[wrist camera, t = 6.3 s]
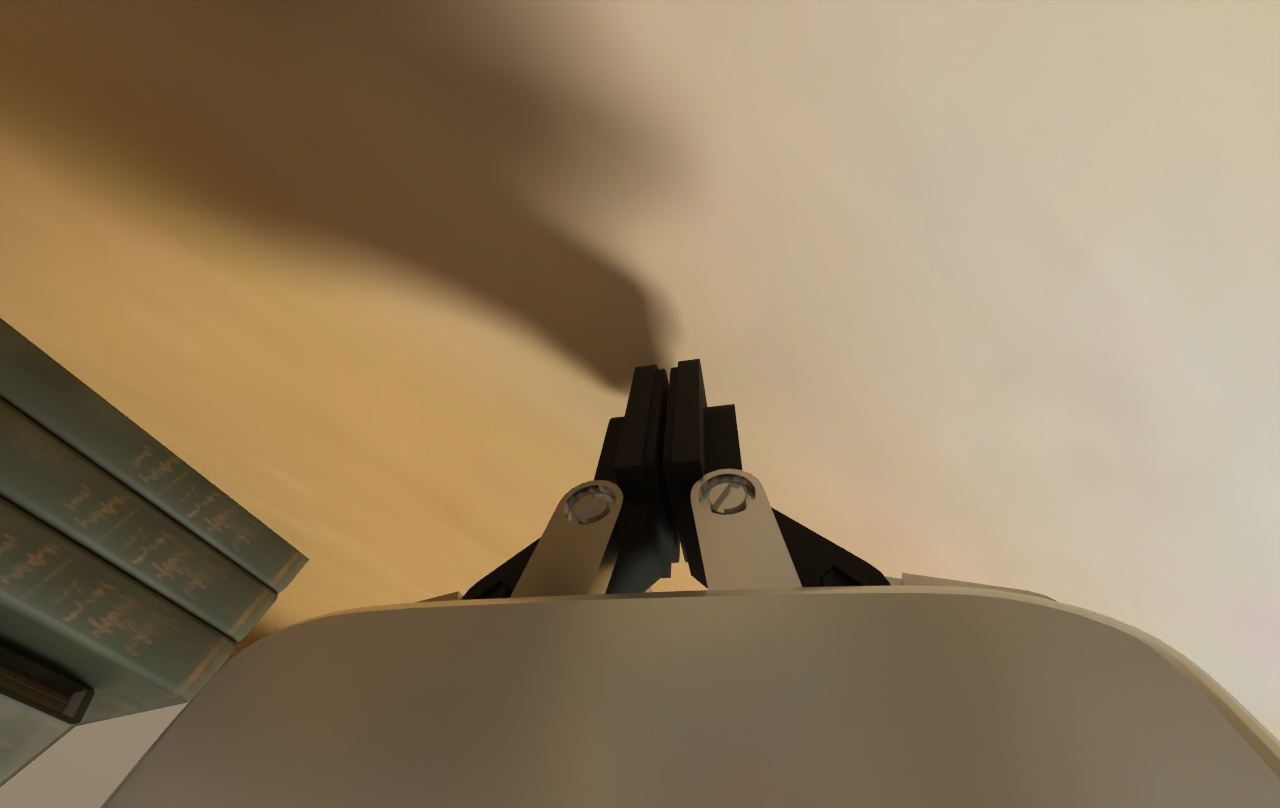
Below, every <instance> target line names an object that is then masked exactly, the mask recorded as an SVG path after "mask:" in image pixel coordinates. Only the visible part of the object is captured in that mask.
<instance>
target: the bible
mask: <svg viewBox="0 0 1280 808" xmlns="http://www.w3.org/2000/svg"><path fill="white" fill-rule="evenodd" d="M308 560H309V559H308V558H307V557H306V556H304V555H303V554H302V553H301V552H299V551H298V550H297V549H296V548H294V547H293V546H292V545H290V544H289V543H288V542H287V541H285V540H284V539H283V538H281V537H280V536H279V535H278V534H276V533H275V532H274V531H272V530H271V529H270V528H269V527H267V526H266V525H265V524H264V523H262V522H261V521H260V520H258V519H257V518H256V517H255V516H253V515H252V514H251V513H249V512H248V511H247V510H246V509H244V508H243V507H242V506H240V505H239V504H238V503H237V502H235V501H234V500H233V499H231V498H230V497H229V496H228V495H226V494H225V493H224V492H223V491H221V490H220V489H219V488H217V487H216V486H215V485H214V484H212V483H211V482H210V481H208V480H207V479H206V478H205V477H203V476H202V475H201V474H199V473H198V472H197V471H196V470H194V469H193V468H192V467H191V466H189V465H188V464H187V463H185V462H184V461H183V460H182V459H180V458H179V457H178V456H176V455H175V454H174V453H173V452H171V451H170V450H169V449H167V448H166V447H165V446H164V445H162V444H161V443H160V442H158V441H157V440H156V439H155V438H153V437H152V436H151V435H150V434H148V433H147V432H146V431H144V430H143V429H142V428H141V427H139V426H138V425H137V424H135V423H134V422H133V421H132V420H130V419H129V418H128V417H126V416H125V415H124V414H123V413H121V412H120V411H119V410H118V409H116V408H115V407H114V406H112V405H111V404H110V403H109V402H107V401H106V400H105V399H103V398H102V397H101V396H100V395H98V394H97V393H96V392H94V391H93V390H92V389H91V388H89V387H88V386H87V385H86V384H84V383H83V382H82V381H80V380H79V379H78V378H77V377H75V376H74V375H73V374H71V373H70V372H69V371H68V370H66V369H65V368H64V367H62V366H61V365H60V364H59V363H57V362H56V361H55V360H53V359H52V358H51V357H50V356H48V355H47V354H46V353H45V352H43V351H42V350H41V349H39V348H38V347H37V346H36V345H34V344H33V343H32V342H30V341H29V340H28V339H27V338H25V337H24V336H23V335H21V334H20V333H19V332H18V331H16V330H15V329H14V328H13V327H11V326H10V325H9V324H7V323H6V322H5V321H4V320H2V319H1V318H0V787H1V786H2V785H4V784H5V783H6V782H7V781H9V780H10V779H11V778H12V777H13V776H15V775H16V774H17V773H18V772H20V771H21V770H22V769H23V768H25V767H26V766H27V765H28V764H29V763H31V762H32V761H33V760H34V759H36V758H37V757H38V756H39V755H41V754H42V753H43V752H44V751H46V750H47V749H48V748H49V747H51V746H52V745H53V744H54V743H56V742H57V741H58V740H59V739H60V738H62V737H63V736H64V735H65V734H67V733H68V732H69V731H70V730H72V729H73V728H74V727H75V726H78V725H83V724H87V723H93V722H97V721H102V720H107V719H111V718H116V717H121V716H126V715H130V714H135V713H139V712H145V711H149V710H154V709H159V708H163V707H168V706H173V705H177V704H182V703H187V702H189V701H190V700H192V699H193V697H194V696H195V695H196V694H197V693H198V692H199V691H200V690H201V689H202V688H203V687H204V686H205V684H206V683H207V682H208V681H209V680H210V679H211V678H212V677H213V676H214V675H215V674H216V672H217V671H218V670H219V669H220V668H221V666H222V665H223V664H224V663H225V661H226V660H227V659H228V658H229V657H230V655H231V654H232V653H233V652H234V650H235V649H236V646H237V642H239V641H240V640H242V639H243V638H245V637H246V636H247V635H248V633H249V632H250V631H251V630H252V629H253V627H254V626H255V625H256V624H257V622H258V621H259V620H260V619H261V618H262V616H263V615H264V614H265V613H266V611H267V610H268V609H269V608H270V607H271V605H272V604H273V603H274V602H275V600H276V599H277V596H278V593H279V592H281V591H282V590H284V589H285V588H286V587H287V586H288V585H289V583H290V582H291V581H292V580H293V579H294V577H295V576H296V575H297V574H298V572H299V571H300V570H301V569H302V568H303V566H304V565H305V564H306V563H307V561H308Z"/></svg>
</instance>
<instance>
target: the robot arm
mask: <svg viewBox="0 0 1280 808" xmlns="http://www.w3.org/2000/svg"><path fill="white" fill-rule="evenodd" d="M680 542H681V546H682V551H683V555H684V559H685V562H688V564H689V568H690V572H691V575H692V576H693V577H694V578H695V579H697V580H698V581H699V582H700V583H701V584H703V585H704V586H705V587H706V588H707V589H708V590H704V591H675V592H652V588H651V586H652V585H653V584H654V583H655V582H656V581H658V580H659V579H660V578H671V563H678V562H679V556H680ZM100 808H1280V742H1279V741H1278V740H1277V739H1276V737H1275V736H1274V735H1273V734H1272V733H1270V732H1269V731H1268V730H1267V729H1266V728H1265V727H1264V726H1263V725H1262V724H1261V723H1260V722H1259V721H1258V720H1257V719H1256V718H1255V717H1254V716H1253V715H1252V714H1251V713H1250V712H1249V711H1248V710H1247V709H1246V708H1245V707H1244V706H1243V705H1241V704H1240V703H1239V702H1238V701H1237V700H1236V699H1235V698H1234V697H1233V696H1232V695H1231V694H1230V693H1229V692H1228V691H1227V690H1226V689H1224V688H1223V687H1222V686H1221V685H1220V684H1219V683H1218V682H1216V681H1215V680H1214V679H1213V678H1212V677H1211V676H1210V675H1208V674H1207V673H1206V672H1205V671H1203V670H1202V669H1201V668H1200V667H1198V666H1197V665H1196V664H1195V663H1193V662H1192V661H1191V660H1189V659H1188V658H1187V657H1186V656H1184V655H1183V654H1181V653H1180V652H1178V651H1177V650H1175V649H1174V648H1172V647H1170V646H1169V645H1167V644H1166V643H1164V642H1163V641H1161V640H1160V639H1158V638H1156V637H1154V636H1152V635H1150V634H1148V633H1146V632H1144V631H1142V630H1140V629H1138V628H1136V627H1133V626H1131V625H1128V624H1126V623H1123V622H1121V621H1118V620H1116V619H1113V618H1111V617H1108V616H1105V615H1102V614H1099V613H1096V612H1093V611H1090V610H1087V609H1084V608H1080V607H1076V606H1072V605H1068V604H1064V603H1060V602H1057V601H1056V600H1054V599H1052V598H1050V597H1048V596H1045V595H1042V594H1038V593H1034V592H1030V591H1026V590H1019V589H1012V588H1005V587H998V586H991V585H984V584H977V583H970V582H963V581H956V580H949V579H942V578H935V577H928V576H921V575H914V574H907V573H902V578H901V579H899V578H892V577H885V576H884V575H883V574H882V573H881V572H880V571H879V570H877V569H876V568H875V567H873V566H872V565H870V564H869V563H867V562H866V561H864V560H862V559H860V558H859V557H857V556H855V555H853V554H852V553H850V552H848V551H846V550H845V549H843V548H841V547H839V546H838V545H836V544H834V543H833V542H831V541H829V540H827V539H826V538H824V537H822V536H820V535H819V534H817V533H815V532H813V531H812V530H810V529H808V528H806V527H805V526H803V525H801V524H799V523H798V522H796V521H794V520H792V519H791V518H789V517H787V516H786V515H784V514H782V513H780V512H779V511H777V510H775V509H773V508H772V507H771V506H770V504H769V501H768V498H767V496H766V493H765V491H764V488H763V486H762V485H761V483H760V481H759V480H758V479H757V478H756V477H754V476H753V475H752V474H750V473H748V472H745V471H742V463H741V455H740V447H739V439H738V430H737V422H736V414H735V406H734V404H732V405H723V406H714V407H707V402H706V396H705V389H704V383H703V376H702V370H701V364H700V359H694V360H687V361H679V362H678V367H675V368H671V372H670V383H668V378H667V373H666V370H665V369H660V370H658V367H657V365H649V366H642V367H636V368H635V371H634V376H633V381H632V385H631V390H630V394H629V399H628V404H627V408H626V413H625V417H617V418H611V419H610V421H609V424H608V428H607V432H606V436H605V440H604V443H603V447H602V451H601V455H600V459H599V463H598V467H597V470H596V474H595V478H594V481H588V482H585V483H582V484H580V485H578V486H576V487H574V488H572V489H571V490H570V491H569V492H567V493H566V494H565V495H564V496H563V498H562V499H561V500H560V502H559V504H558V505H557V507H556V509H555V511H554V513H553V515H552V517H551V519H550V521H549V523H548V525H547V527H546V529H545V531H544V533H543V535H542V536H541V538H539V539H538V540H536V541H535V542H533V543H532V544H531V545H529V546H528V547H526V548H525V549H524V550H522V551H521V552H519V553H518V554H516V555H515V556H514V557H512V558H511V559H509V560H508V561H507V562H505V563H504V564H502V565H501V566H499V567H498V568H497V569H495V570H494V571H492V572H491V573H490V574H488V575H487V576H485V577H484V578H482V579H481V580H480V581H478V582H477V583H476V584H475V585H474V586H472V587H471V588H470V589H469V590H468V591H467V593H466V594H465V595H464V596H462V595H461V593H460V592H459V591H458V592H454V593H450V594H446V595H442V596H438V597H434V598H430V599H426V600H423V601H419V602H415V603H403V604H390V605H380V606H369V607H360V608H354V609H349V610H343V611H337V612H332V613H328V614H324V615H321V616H317V617H313V618H310V619H306V620H303V621H301V622H298V623H296V624H293V625H291V626H288V627H285V628H283V629H280V630H278V631H275V632H273V633H271V634H269V635H267V636H265V637H263V638H261V639H259V640H258V641H256V642H254V643H252V644H251V645H249V646H247V647H246V648H244V649H243V650H242V651H240V652H239V653H238V654H236V655H235V656H234V657H233V658H232V659H230V660H229V661H228V662H227V663H226V664H225V665H224V666H223V667H222V668H221V669H220V670H219V671H218V672H217V673H216V674H215V675H214V676H213V677H212V678H211V679H210V680H209V681H208V682H207V683H206V684H205V686H204V687H203V688H202V689H201V690H200V691H199V692H198V693H197V694H196V695H195V696H194V697H193V699H192V700H191V701H190V702H189V703H188V704H187V705H186V707H185V708H184V709H183V710H182V711H181V712H180V713H179V714H178V716H177V717H176V718H175V719H174V720H173V721H172V722H171V724H170V725H169V726H168V727H167V728H166V729H165V731H164V732H163V733H162V734H161V735H160V736H159V738H158V739H157V740H156V741H155V742H154V744H153V745H152V746H151V747H150V748H149V749H148V751H147V752H146V753H145V754H144V755H143V757H142V758H141V759H140V760H139V761H138V763H137V764H136V765H135V766H134V767H133V769H132V770H131V771H130V772H129V774H128V775H127V776H126V777H125V778H124V780H123V781H122V782H121V783H120V784H119V786H118V787H117V788H116V789H115V791H114V792H113V793H112V794H111V795H110V797H109V798H108V799H107V800H106V801H105V803H104V804H103V805H102V806H101V807H100Z"/></svg>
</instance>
